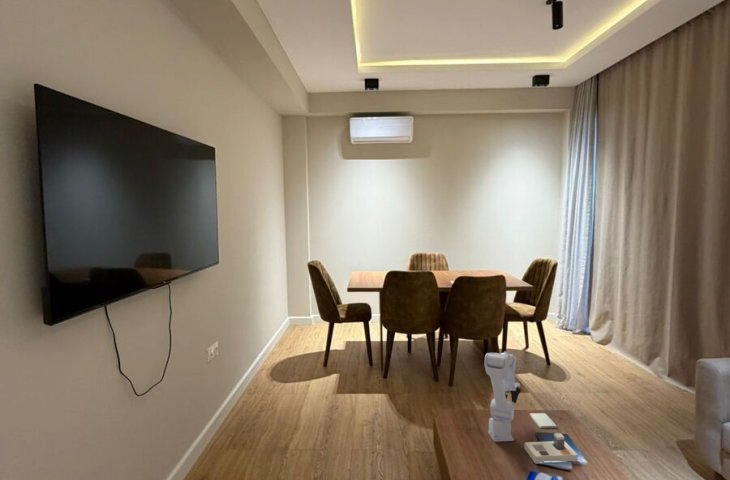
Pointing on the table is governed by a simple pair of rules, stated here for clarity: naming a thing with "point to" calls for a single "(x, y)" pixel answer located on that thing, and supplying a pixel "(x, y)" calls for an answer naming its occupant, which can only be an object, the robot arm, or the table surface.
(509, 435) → the robot arm
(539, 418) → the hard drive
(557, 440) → the plug
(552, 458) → the socket block
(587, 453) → the table surface
